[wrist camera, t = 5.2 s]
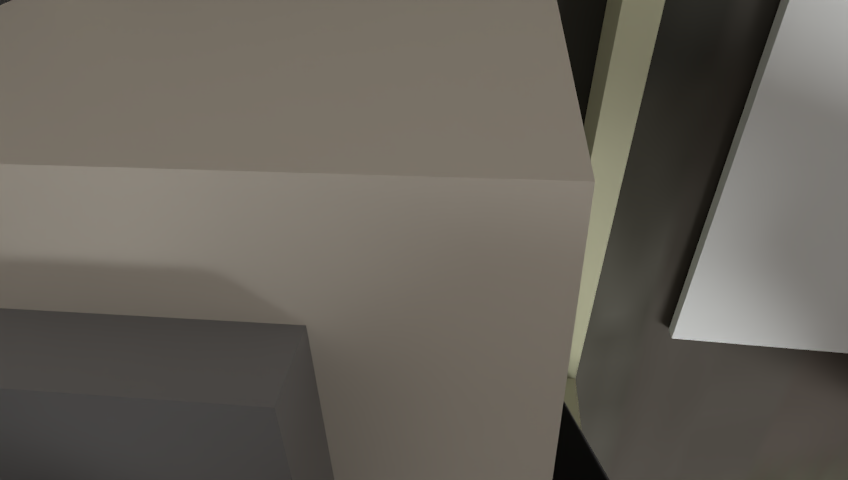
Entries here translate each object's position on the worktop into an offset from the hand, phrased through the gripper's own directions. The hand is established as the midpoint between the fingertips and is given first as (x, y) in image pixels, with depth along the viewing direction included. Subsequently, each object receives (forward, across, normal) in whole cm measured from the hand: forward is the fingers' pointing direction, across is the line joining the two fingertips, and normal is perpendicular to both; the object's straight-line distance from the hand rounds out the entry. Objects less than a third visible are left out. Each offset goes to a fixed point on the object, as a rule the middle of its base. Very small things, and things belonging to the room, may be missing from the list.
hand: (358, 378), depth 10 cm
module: (+2, 0, 0) cm, 2 cm away
